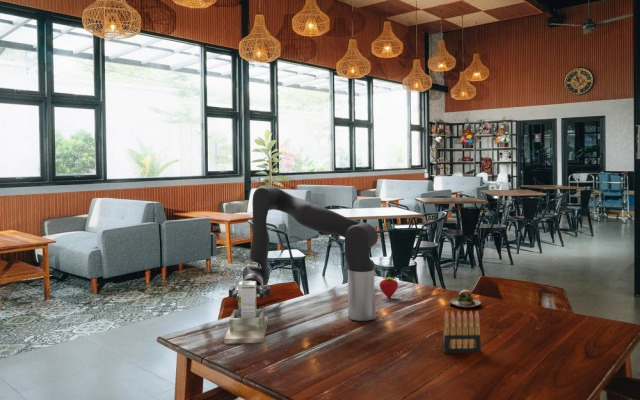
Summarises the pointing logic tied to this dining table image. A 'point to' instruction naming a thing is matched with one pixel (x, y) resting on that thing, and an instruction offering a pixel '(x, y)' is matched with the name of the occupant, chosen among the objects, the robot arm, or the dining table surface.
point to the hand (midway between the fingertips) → (248, 296)
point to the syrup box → (247, 299)
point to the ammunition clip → (461, 334)
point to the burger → (465, 300)
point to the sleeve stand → (246, 328)
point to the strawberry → (388, 286)
